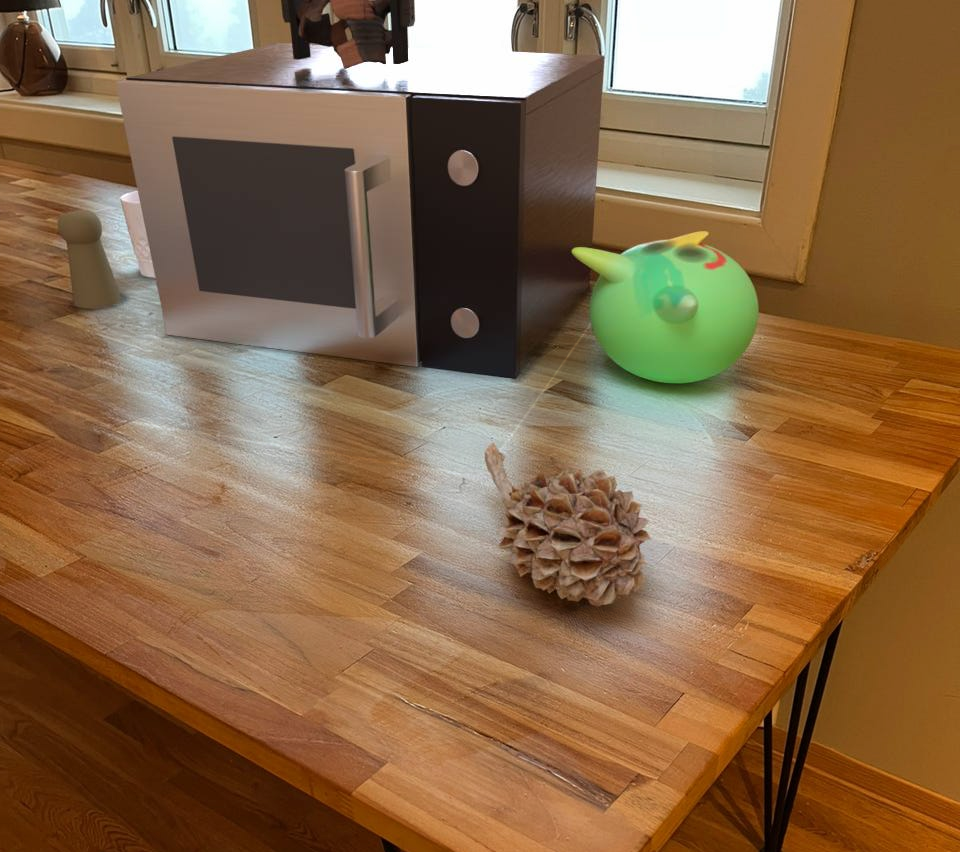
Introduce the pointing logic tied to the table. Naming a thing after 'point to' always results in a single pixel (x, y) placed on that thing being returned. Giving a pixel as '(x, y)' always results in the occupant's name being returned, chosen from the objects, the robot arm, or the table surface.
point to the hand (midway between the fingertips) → (350, 60)
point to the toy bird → (671, 308)
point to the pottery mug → (362, 22)
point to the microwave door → (280, 215)
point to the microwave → (473, 183)
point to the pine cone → (572, 532)
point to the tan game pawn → (88, 260)
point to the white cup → (137, 232)
